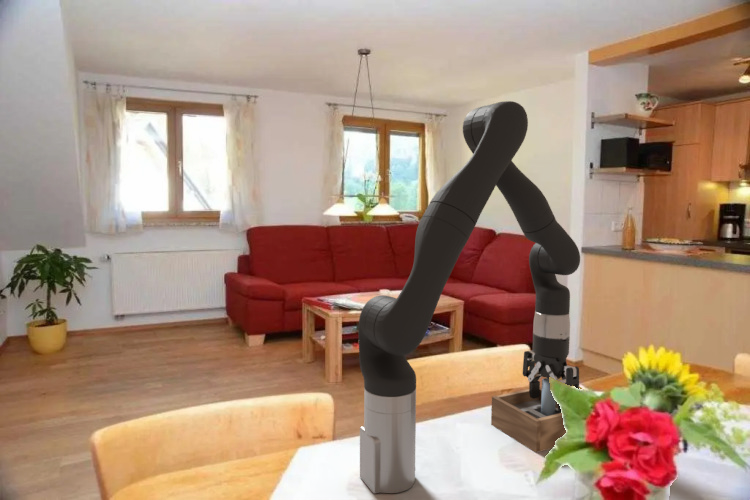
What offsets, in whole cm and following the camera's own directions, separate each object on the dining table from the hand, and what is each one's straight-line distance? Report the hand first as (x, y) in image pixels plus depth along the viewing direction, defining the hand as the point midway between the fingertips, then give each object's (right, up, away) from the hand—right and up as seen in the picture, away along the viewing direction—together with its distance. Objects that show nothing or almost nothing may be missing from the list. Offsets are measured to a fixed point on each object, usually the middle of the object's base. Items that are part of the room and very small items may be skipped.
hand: (548, 404), depth 110 cm
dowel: (0, -6, +1) cm, 6 cm away
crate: (-3, -6, -1) cm, 6 cm away
